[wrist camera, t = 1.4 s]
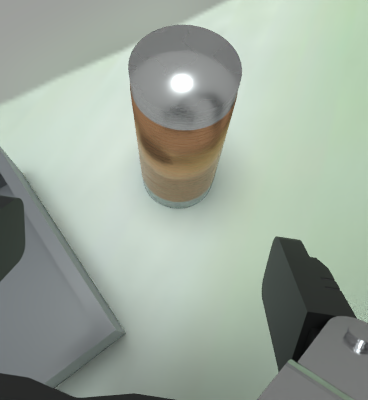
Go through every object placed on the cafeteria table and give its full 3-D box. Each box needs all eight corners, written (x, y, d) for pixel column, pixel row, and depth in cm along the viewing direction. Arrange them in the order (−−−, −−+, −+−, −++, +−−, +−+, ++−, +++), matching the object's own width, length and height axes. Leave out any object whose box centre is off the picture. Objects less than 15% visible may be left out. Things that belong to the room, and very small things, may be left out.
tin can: (216, 151, 32) (246, 32, 20) (208, 213, 29) (238, 122, 17) (149, 141, 32) (139, 17, 20) (136, 203, 29) (116, 104, 17)
